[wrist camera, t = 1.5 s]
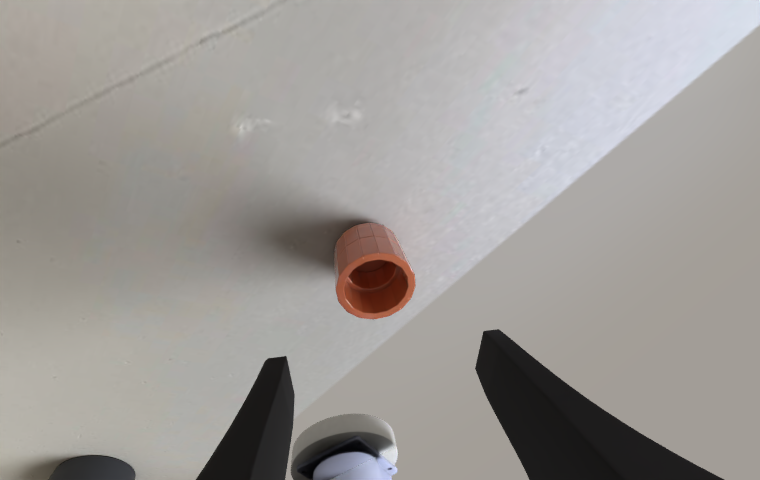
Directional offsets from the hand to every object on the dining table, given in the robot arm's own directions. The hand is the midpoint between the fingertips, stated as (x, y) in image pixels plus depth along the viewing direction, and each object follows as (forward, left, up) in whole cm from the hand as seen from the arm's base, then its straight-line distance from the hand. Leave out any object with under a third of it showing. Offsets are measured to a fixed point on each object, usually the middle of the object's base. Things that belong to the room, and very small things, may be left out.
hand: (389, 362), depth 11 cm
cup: (0, 0, -9) cm, 9 cm away
